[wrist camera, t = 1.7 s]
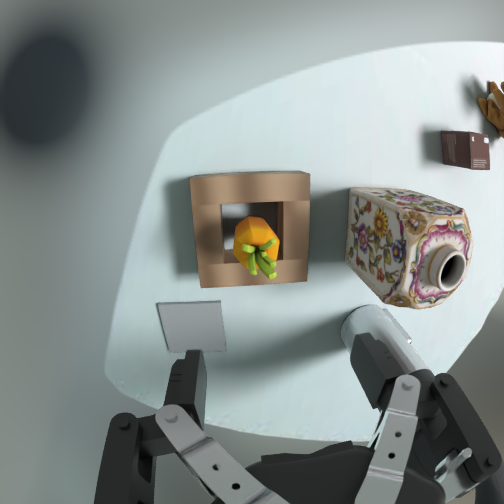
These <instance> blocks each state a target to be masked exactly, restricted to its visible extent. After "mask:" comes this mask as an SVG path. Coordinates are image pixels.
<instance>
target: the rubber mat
mask: <svg viewBox="0 0 504 504" xmlns="http://www.w3.org/2000/svg"><path fill="white" fill-rule="evenodd" d="M158 308H159V312H160V316H161V321H162V325H163V329H164V332H165V336H166V340H167V344H168V347H169V351H170V352H186V351H187V350H189V349H201V350H202V352H220V351H226V344H225V336H224V327H223V319H222V309H221V301H200V302H170V303H158Z"/></svg>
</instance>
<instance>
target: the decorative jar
mask: <svg viewBox="0 0 504 504" xmlns="http://www.w3.org/2000/svg"><path fill="white" fill-rule="evenodd" d="M472 250H473V240H472V236H471V231H470V227H469V222H468V218H467V216H466V213H465V210H464V209H463V208H460V207H457V206H455V205H452V204H450V203H447V202H444V201H442V200H439V199H436V198H434V197H431V196H428V195H425V194H422V193H418V192H415V191H411V190H400V189H383V188H351V189H350V193H349V214H348V227H347V241H346V253H345V262H346V263H347V264H348V265H349V266H350V267H351V269H352V270H353V271H354V272H355V273H356V274H357V275H358V276H359V277H360V279H361V280H362V281H363V282H364V283H365V284H366V285H367V286H368V287H369V288H370V289H371V290H372V291H373V292H374V293H375V294H376V295H377V296H378V297H379V298H380V300H381V301H382V302H383V303H385V304H390V305H394V306H398V307H409V308H413V309H423V308H430V307H433V306H436V305H439V304H442V303H443V302H444V301H445V300H446V299H447V298H448V297H449V296H450V295H451V294H452V293H453V292H454V291H455V290H456V289H457V287H458V286H459V285H460V284H461V282H462V281H463V280H464V278H465V277H466V275H467V271H468V267H469V264H470V260H471V256H472Z"/></svg>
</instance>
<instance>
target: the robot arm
mask: <svg viewBox="0 0 504 504" xmlns="http://www.w3.org/2000/svg"><path fill="white" fill-rule="evenodd" d="M341 338H342V340H343V342H344V344H345V346H346V347H347V349H348V351H349V353H350V361H351V365H352V368H353V370H354V372H355V374H356V376H357V378H358V380H359V382H360V384H361V386H362V388H363V390H364V392H365V394H366V396H367V398H368V400H369V402H370V404H371V406H372V408H373V409H375V408H378V410H379V412H380V416H379V419H378V422H377V424H376V427H375V430H374V433H373V435H372V438H371V440H370V442H369V445H368V446H367V447H365V446H356V445H353V444H352V441H351V440H350V441H346V442H342V443H338V444H333V445H330V446H327V447H325V448H323V449H321V450H319V451H316V452H314V453H312V454H288V453H282V454H273V455H264V456H261V461H260V462H256V463H254V464H252V465H250V466H248V467H246V468H245V469H244V468H243V467H242V466H241V465H240V464H239V463H238V462H237V461H236V460H235V459H233V458H232V457H231V456H230V455H229V454H228V453H227V452H226V451H225V450H224V449H223V448H222V447H221V446H220V445H219V444H218V443H217V442H216V441H215V440H214V439H213V438H211V437H210V438H209V437H208V436H206V435H205V433H204V432H203V431H204V415H205V400H206V386H207V373H206V367H205V362H204V357H203V353H202V350H201V349H189V350H187V351H186V356H185V359H177V361H176V362H175V363H174V364H173V366H172V368H171V373H170V377H169V382H168V387H167V391H166V396H165V401H164V405H163V407H161V408H160V409H159V410H158V411H157V413H156V414H154V415H151V416H147V417H142V418H136V417H135V416H134V415H133V414H131V413H119V414H117V415H116V416H114V417H113V418H112V420H111V422H110V426H109V430H108V434H107V438H106V442H105V446H104V451H103V456H102V461H101V466H100V471H99V476H98V481H97V487H96V493H95V500H94V504H154V487H155V471H156V458H157V456H159V455H165V454H170V453H175V454H176V455H177V456H178V457H179V459H180V460H181V461H182V462H183V464H184V465H185V466H186V467H187V469H188V470H189V471H190V472H191V473H192V475H193V476H194V477H195V478H196V479H197V481H198V482H199V483H200V484H201V486H202V487H203V488H204V489H205V490H206V491H207V492H208V493H209V494H210V495H211V497H212V498H213V499H214V502H212V503H211V504H445V503H446V502H448V501H449V500H451V499H453V498H460V497H462V496H464V495H465V494H467V493H468V492H470V491H471V490H473V489H474V488H475V490H476V497H475V504H504V462H503V460H502V458H501V455H500V453H499V451H498V449H497V447H496V445H495V443H494V442H493V440H492V438H491V436H490V435H489V433H488V431H487V429H486V427H485V426H484V424H483V422H482V421H481V419H480V417H479V416H478V414H477V413H476V411H475V410H474V408H473V406H472V405H471V403H470V402H469V400H468V398H467V397H466V395H465V394H464V392H463V391H462V389H461V388H460V386H459V385H458V384H457V382H456V381H455V379H454V378H453V377H452V376H451V375H449V374H446V373H440V374H438V375H436V376H434V374H433V373H432V372H431V370H430V369H429V368H428V366H427V365H426V364H425V363H424V361H423V360H422V359H421V357H420V356H419V355H418V354H417V352H416V351H415V350H414V348H413V347H412V346H411V345H410V344H411V341H412V339H411V337H410V336H409V335H408V334H407V332H406V331H405V330H404V329H403V328H402V326H401V325H400V324H399V323H398V322H397V320H396V319H395V318H394V317H393V316H392V315H391V313H390V312H389V311H388V310H387V309H381V308H380V307H378V306H375V305H367V306H363V307H360V308H358V309H356V310H355V311H354V312H352V313H351V314H350V315H349V316H348V317H347V318H346V320H345V321H344V323H343V325H342V327H341Z"/></svg>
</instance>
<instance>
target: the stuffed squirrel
mask: <svg viewBox="0 0 504 504" xmlns="http://www.w3.org/2000/svg"><path fill="white" fill-rule="evenodd" d="M501 89H502V90H503V92H504V82H502V83H501ZM490 92H491V94H489V96H488V97H487V100H486V99H485V98H478V103H479V106H480V108H481V110H482V112H483V114H484V116H485V117H486V119H487V120H489V121H490V122H491V123H493V124H494V125H495V126H496V128H497V129H498V132H499V133H500V136H502V137H503V138H504V94H503V93H502V92H501V91H500V90H499V89H498V87H497V85H496V83H495V82H490Z"/></svg>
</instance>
